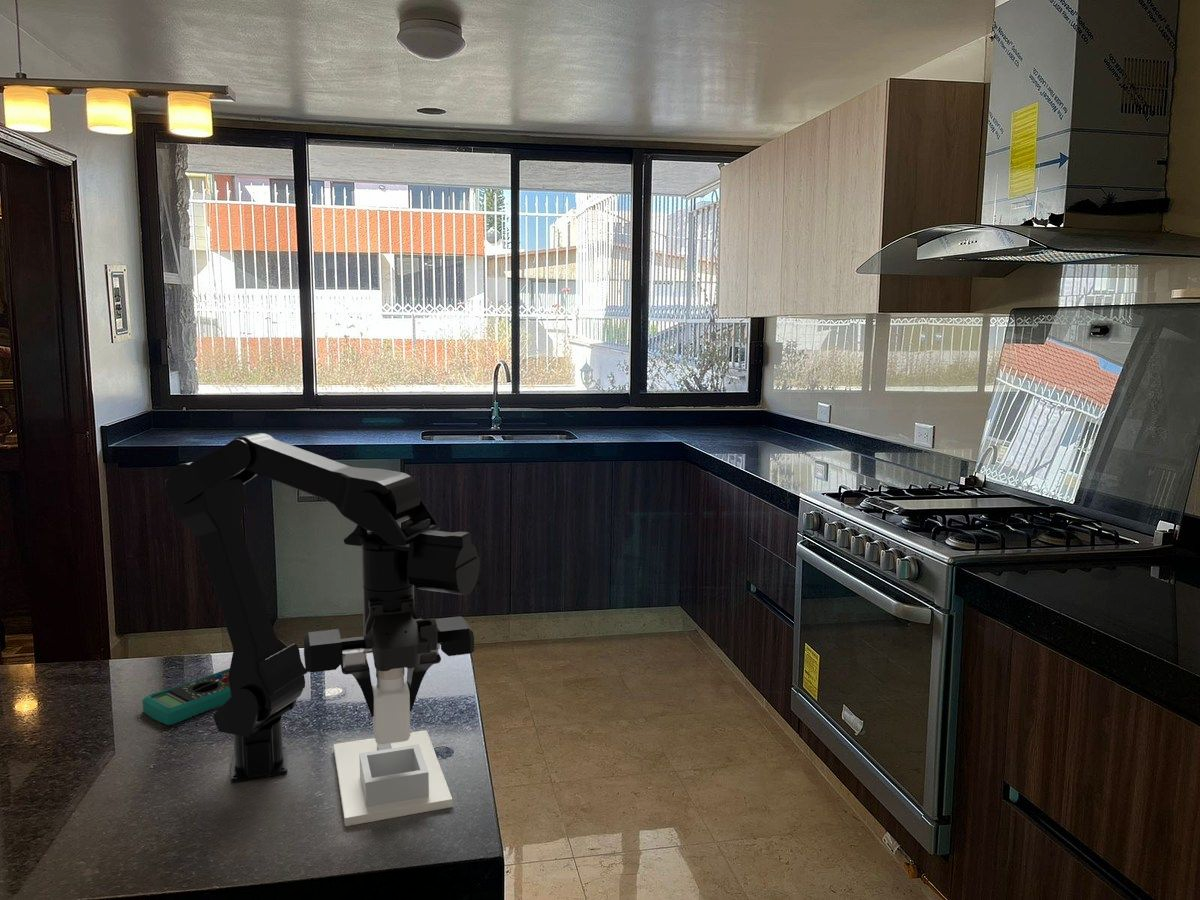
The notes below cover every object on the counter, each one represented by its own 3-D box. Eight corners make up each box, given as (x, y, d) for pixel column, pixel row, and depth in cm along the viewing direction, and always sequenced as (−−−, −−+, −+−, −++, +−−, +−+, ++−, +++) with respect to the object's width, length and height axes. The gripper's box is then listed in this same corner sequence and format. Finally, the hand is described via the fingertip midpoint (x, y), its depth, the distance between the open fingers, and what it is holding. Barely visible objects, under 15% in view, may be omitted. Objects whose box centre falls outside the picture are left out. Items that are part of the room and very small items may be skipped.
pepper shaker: (407, 727, 107) (405, 651, 105) (411, 742, 103) (409, 664, 102) (372, 731, 106) (370, 655, 104) (375, 747, 102) (373, 668, 100)
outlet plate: (333, 751, 115) (332, 722, 115) (426, 737, 120) (426, 709, 119) (345, 826, 99) (343, 793, 98) (452, 806, 103) (452, 774, 102)
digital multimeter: (264, 693, 134) (263, 675, 133) (167, 730, 122) (166, 709, 121) (237, 681, 138) (236, 663, 137) (140, 715, 126) (139, 695, 126)
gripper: (305, 615, 91) (310, 758, 93) (484, 597, 97) (485, 731, 100) (301, 583, 101) (306, 712, 104) (463, 569, 108) (464, 691, 110)
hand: (391, 712), depth 104 cm, fingers closed on pepper shaker, 4 cm apart
